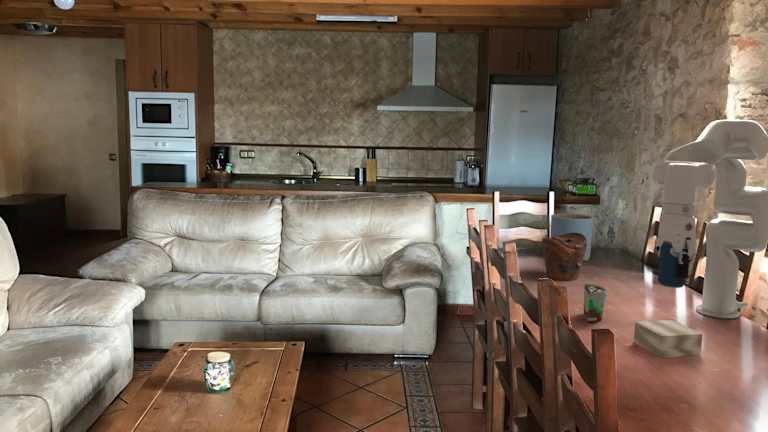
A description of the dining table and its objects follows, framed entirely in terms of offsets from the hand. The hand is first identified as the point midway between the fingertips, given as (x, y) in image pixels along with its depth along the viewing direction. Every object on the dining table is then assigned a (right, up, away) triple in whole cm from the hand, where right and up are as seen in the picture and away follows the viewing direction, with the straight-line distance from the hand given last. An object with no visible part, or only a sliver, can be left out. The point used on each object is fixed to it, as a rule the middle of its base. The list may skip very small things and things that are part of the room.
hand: (672, 274), depth 161 cm
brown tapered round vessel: (-5, -9, +83) cm, 83 cm away
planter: (+10, -4, +119) cm, 120 cm away
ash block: (0, -21, +3) cm, 21 cm away
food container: (-11, -17, +28) cm, 35 cm away
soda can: (0, -3, 0) cm, 3 cm away
